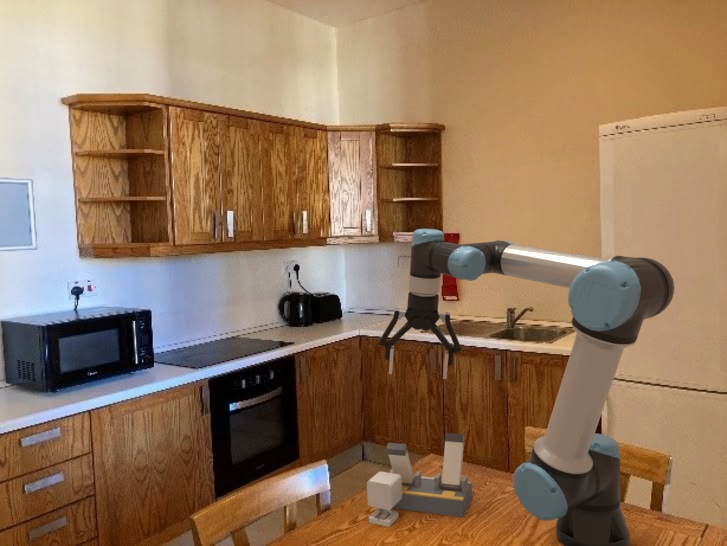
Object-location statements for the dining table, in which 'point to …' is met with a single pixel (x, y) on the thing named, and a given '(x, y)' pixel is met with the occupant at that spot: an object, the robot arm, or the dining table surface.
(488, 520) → the dining table surface
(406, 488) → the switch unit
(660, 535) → the dining table surface
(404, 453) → the lever
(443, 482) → the lever
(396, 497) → the security camera
